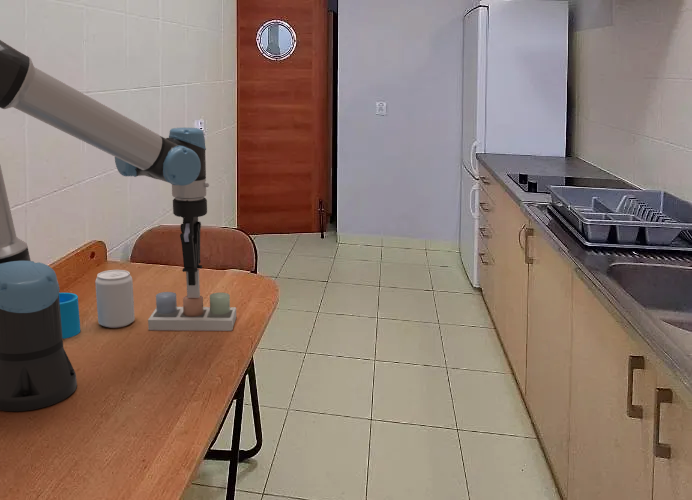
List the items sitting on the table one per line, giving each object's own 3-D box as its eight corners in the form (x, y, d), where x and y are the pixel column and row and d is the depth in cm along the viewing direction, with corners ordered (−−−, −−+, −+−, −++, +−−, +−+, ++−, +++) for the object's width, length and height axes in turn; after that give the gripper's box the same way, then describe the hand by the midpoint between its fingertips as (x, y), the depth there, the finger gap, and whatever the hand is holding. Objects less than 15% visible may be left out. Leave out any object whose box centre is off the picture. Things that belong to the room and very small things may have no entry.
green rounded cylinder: (228, 314, 153) (228, 298, 152) (208, 314, 153) (208, 298, 152) (230, 307, 157) (230, 292, 156) (211, 307, 157) (211, 292, 156)
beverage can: (90, 324, 153) (87, 275, 150) (117, 314, 160) (114, 267, 157) (115, 331, 149) (112, 281, 146) (142, 320, 156) (139, 272, 153)
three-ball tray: (232, 330, 152) (231, 320, 151) (148, 330, 151) (148, 319, 150) (236, 317, 160) (236, 307, 160) (157, 316, 159) (157, 306, 159)
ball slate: (174, 313, 152) (174, 298, 151) (154, 313, 152) (153, 298, 151) (178, 307, 157) (178, 292, 156) (159, 306, 156) (158, 291, 155)
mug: (72, 339, 144) (70, 304, 142) (35, 339, 144) (31, 304, 142) (91, 320, 156) (88, 287, 154) (56, 319, 155) (53, 287, 153)
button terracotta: (201, 316, 153) (201, 301, 152) (181, 316, 152) (181, 301, 151) (204, 310, 157) (204, 294, 156) (185, 309, 157) (184, 294, 156)
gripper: (201, 203, 142) (205, 306, 148) (210, 192, 154) (213, 288, 160) (166, 202, 141) (171, 306, 147) (178, 192, 154) (182, 288, 160)
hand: (193, 296), depth 154 cm, fingers closed
